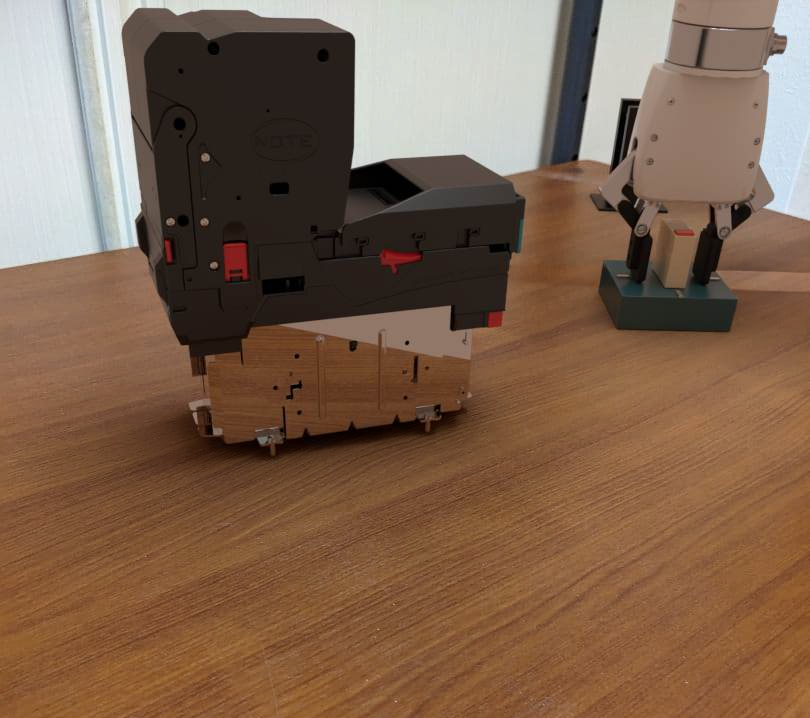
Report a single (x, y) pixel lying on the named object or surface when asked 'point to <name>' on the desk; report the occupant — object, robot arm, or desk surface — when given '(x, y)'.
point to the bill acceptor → (303, 232)
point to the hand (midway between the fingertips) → (668, 275)
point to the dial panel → (665, 301)
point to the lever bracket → (622, 152)
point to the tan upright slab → (673, 253)
